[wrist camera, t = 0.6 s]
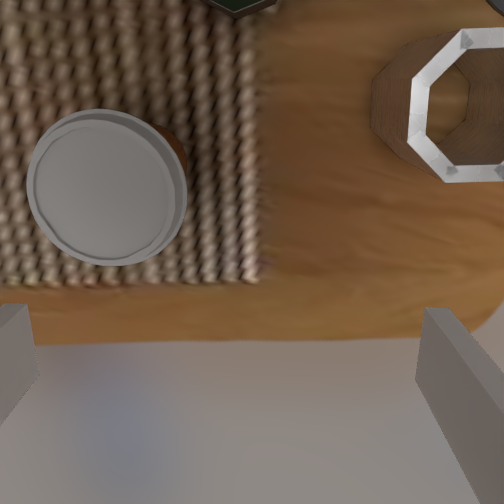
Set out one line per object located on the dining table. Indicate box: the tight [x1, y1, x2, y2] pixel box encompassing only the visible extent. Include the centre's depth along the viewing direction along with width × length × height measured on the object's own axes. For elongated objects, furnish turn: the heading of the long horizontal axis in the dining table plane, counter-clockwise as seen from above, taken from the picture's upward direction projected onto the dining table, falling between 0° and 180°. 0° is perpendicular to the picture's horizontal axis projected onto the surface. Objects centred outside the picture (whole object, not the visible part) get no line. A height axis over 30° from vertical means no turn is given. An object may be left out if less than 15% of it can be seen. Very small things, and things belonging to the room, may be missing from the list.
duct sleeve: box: [370, 27, 504, 183], centre depth 31 cm, size 8×8×10 cm
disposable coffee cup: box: [26, 109, 188, 266], centre depth 32 cm, size 10×10×12 cm
